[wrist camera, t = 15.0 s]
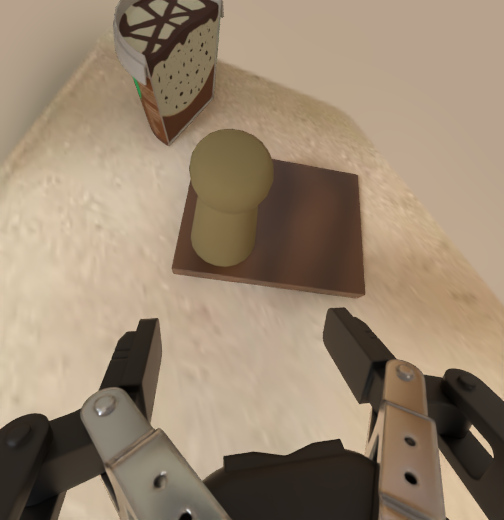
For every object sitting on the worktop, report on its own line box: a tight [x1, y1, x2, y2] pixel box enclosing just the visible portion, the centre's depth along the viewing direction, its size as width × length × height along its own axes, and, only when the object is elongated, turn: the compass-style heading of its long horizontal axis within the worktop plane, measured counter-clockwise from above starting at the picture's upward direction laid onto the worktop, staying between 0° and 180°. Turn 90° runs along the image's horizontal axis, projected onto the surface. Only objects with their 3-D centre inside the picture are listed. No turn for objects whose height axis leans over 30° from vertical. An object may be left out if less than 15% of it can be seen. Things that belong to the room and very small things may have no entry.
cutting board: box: [172, 159, 365, 298], centre depth 28 cm, size 18×14×2 cm
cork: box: [189, 129, 274, 267], centre depth 21 cm, size 6×6×11 cm
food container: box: [113, 0, 224, 146], centre depth 27 cm, size 12×6×10 cm, turn 151°
